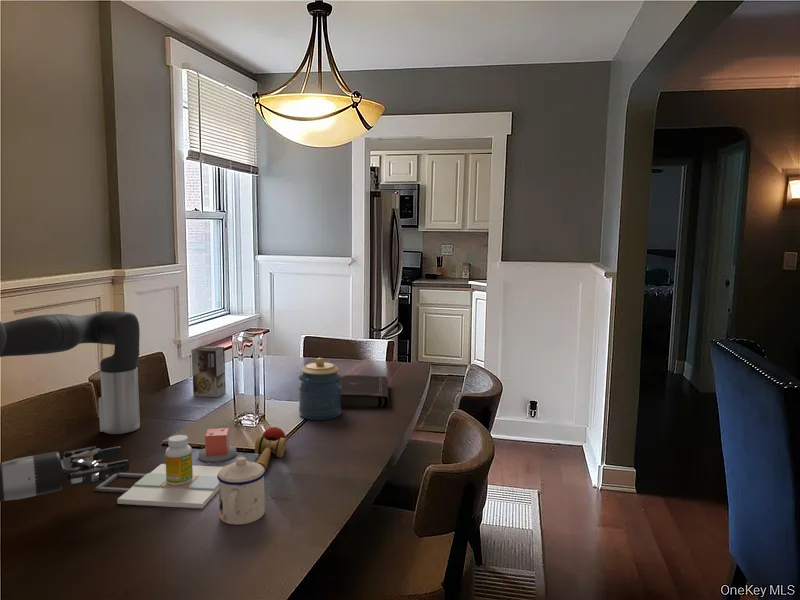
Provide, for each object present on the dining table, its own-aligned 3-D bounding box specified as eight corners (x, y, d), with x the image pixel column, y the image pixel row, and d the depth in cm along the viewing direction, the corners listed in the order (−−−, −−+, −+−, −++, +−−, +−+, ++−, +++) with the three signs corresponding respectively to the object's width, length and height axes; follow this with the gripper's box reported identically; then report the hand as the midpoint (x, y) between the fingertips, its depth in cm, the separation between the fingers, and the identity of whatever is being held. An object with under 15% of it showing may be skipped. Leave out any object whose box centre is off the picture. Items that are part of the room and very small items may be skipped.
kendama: (280, 479, 134) (293, 441, 151) (274, 455, 132) (288, 419, 150) (247, 484, 134) (264, 445, 152) (241, 460, 133) (259, 424, 150)
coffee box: (226, 392, 199) (225, 346, 197) (217, 397, 193) (216, 350, 191) (202, 391, 200) (200, 345, 199) (192, 396, 194) (190, 349, 192)
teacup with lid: (226, 503, 119) (225, 449, 117) (270, 504, 119) (269, 449, 117) (206, 534, 107) (205, 474, 106) (255, 534, 107) (254, 474, 106)
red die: (195, 463, 139) (194, 437, 138) (201, 449, 148) (201, 424, 147) (234, 461, 140) (233, 435, 140) (238, 447, 149) (237, 423, 148)
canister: (303, 407, 184) (303, 352, 182) (344, 408, 183) (344, 353, 181) (294, 420, 171) (294, 362, 169) (338, 421, 170) (338, 363, 168)
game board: (80, 501, 119) (79, 495, 119) (128, 466, 137) (128, 460, 137) (202, 508, 117) (202, 501, 116) (235, 471, 134) (235, 465, 134)
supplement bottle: (183, 487, 123) (182, 443, 122) (161, 484, 124) (159, 441, 123) (197, 476, 128) (196, 434, 127) (175, 474, 129) (174, 432, 128)
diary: (387, 388, 209) (388, 375, 208) (389, 410, 184) (389, 395, 184) (336, 388, 208) (336, 374, 208) (330, 409, 184) (330, 393, 183)
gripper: (32, 470, 104) (130, 451, 113) (29, 445, 115) (118, 430, 124) (35, 509, 104) (132, 488, 114) (31, 481, 116) (119, 463, 125)
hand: (124, 457), depth 119 cm, fingers open, 8 cm apart
